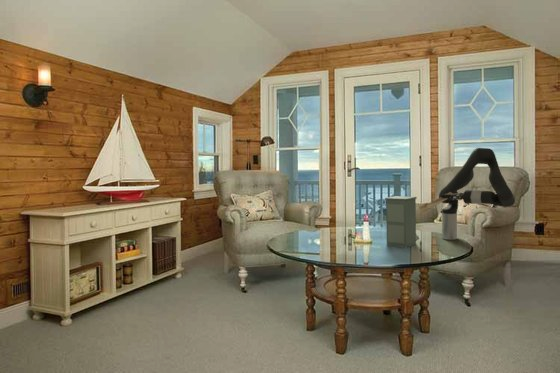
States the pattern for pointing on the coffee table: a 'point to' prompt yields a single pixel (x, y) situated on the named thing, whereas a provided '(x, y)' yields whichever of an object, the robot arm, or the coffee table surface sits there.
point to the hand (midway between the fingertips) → (442, 195)
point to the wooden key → (432, 203)
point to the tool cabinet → (401, 221)
